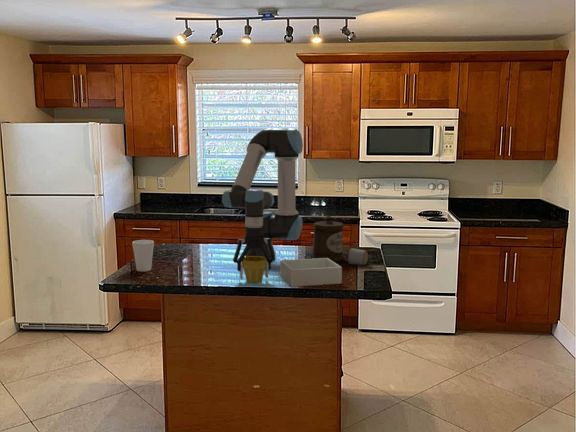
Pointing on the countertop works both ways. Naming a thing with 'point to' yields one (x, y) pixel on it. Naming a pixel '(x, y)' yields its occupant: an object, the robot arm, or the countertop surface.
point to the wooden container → (328, 239)
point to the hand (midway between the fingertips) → (254, 277)
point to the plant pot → (254, 268)
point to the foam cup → (143, 254)
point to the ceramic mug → (357, 257)
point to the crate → (310, 272)
